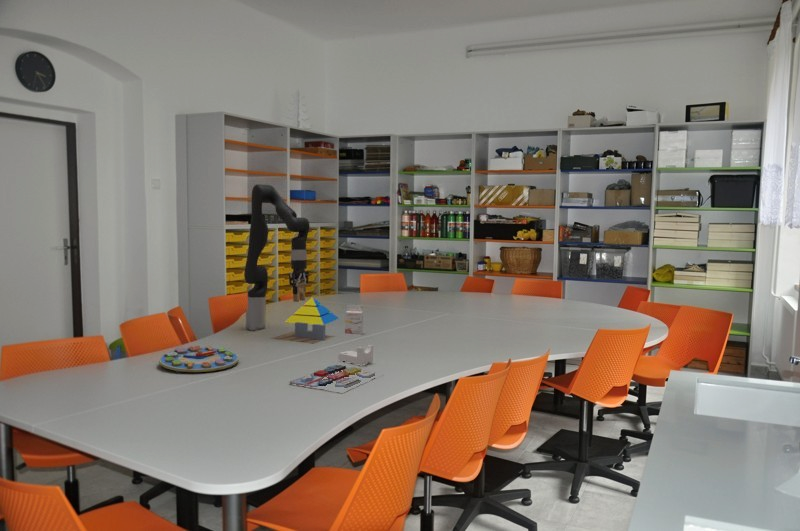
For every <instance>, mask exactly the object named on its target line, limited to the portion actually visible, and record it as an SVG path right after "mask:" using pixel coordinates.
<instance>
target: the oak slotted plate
mask: <svg viewBox="0 0 800 531" xmlns="http://www.w3.org/2000/svg"><path fill="white" fill-rule="evenodd" d="M295 284H296V282H295ZM292 294H293V293H292ZM305 300H306V291H305V283H304V282H303V281H302V282H300V281H299V282H298V285H297V294H293V296H292V302H293V303H294V302H295V303H298V302H300V301H301V302H302V301H303V302H305Z"/></svg>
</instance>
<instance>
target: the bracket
mask: <svg viewBox="0 0 800 531" xmlns="http://www.w3.org/2000/svg"><path fill="white" fill-rule="evenodd" d="M337 355H338V357H337V358H338V359H337V360H340V361H339V362H341V361H345V362H350V363H355V364H360V365H363V364H367V365H368V364H369V363H373V362H374V345H372V344H367V345H366V348H365V350H364V347H361V346H357V347H356V351H354V350H346V351H342V352H338V354H337ZM345 362H344V363H345ZM350 363H349V364H350ZM355 364H354V365H355Z"/></svg>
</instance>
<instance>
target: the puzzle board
mask: <svg viewBox="0 0 800 531" xmlns="http://www.w3.org/2000/svg"><path fill="white" fill-rule="evenodd" d="M341 370H343V372H342V371H341ZM361 370H362V368H361V367H355V366H352V367H347V366H346V365H342V364H341V365H338V364H334V365H330V366H327V367H326V368H324V369H321V370H317V371H314V372H312V373H309V374H304V376H302V377H298V378H296V379H293V380H290V381H289V382H288V384H289V383H290V384H296V385H304V386H310V387H318V386H326V385H327V384H331V383H333V381H336V384H335V387H344V388H348V387H351V386H353V385H355V384H358V383H360V382H361V380H359V379H357V378H356V377H352V378H344V377H349V375H355V373H356V375H357V376H359V377H362V378H371V377H373V376H375V373H376V372H374V373H370V372H371V371H369V372H361ZM338 371H339V373H337V374H335V372H338ZM332 373H333V374H334V375H331V374H332ZM327 376H328V377H327ZM324 377H327V378H328V379H323V378H324ZM342 378H343V379H342ZM322 379H323V380H322ZM290 384H289V385H290Z"/></svg>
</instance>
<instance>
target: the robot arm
mask: <svg viewBox="0 0 800 531" xmlns="http://www.w3.org/2000/svg"><path fill="white" fill-rule="evenodd" d="M263 204H271V205H272V206H274V210H275V213H276V215H277V216H278V217H279V218H280V219H281V220H282V221H283V222H284V223H285V225H286V228H287V229H288V230H289V231H290V232H292V233H297V236H295V237H292V238H291V241H290V242H291V247H290V249H291V250H290V251H291V252H290V268H291V269H292V272H288V281H289V286H291V287H292V294H297V285H298V282H304V283H305V292H306V289H307V288H306V287H307V284H309V278H310V276H309V275H310V271H309V270H308V271H307V267H308V259H307V257H308V254H307V240H308V235H309V232H310V227H311V225H310V221H309V219H308V218H306V217H297V216H298V215H297V212H296V211H295V210H293V208H291V207H290V206H289V205H288V204H287V203H286V202H285V200H284V199H283V197H282V196H281V195H280V193H279V192H278V191H277V190H276V188H275V187H274V186H272V185H271V184H270V185H269V184H259V183H258V184H254V185H253V188H252V190H251V216H250V217H251V218H250V227H249V236H248V237H249V240H248V249H247V254H246V261H245V266H244V272H243V273H244V274H243V275H244V276H243V277H244V278H243V279H244V280H245V283H247V284H248V285H254V286H253V287H252V288H251V289H249V290H248V291H247V310H246V311H245V329H246V330H248V329H249V330H248V331H253V330H258V331H262V330H266V329H267V328H266V326H267V325H266V324H267V323H266V322H267V320H266V319H267V316H266V315H267V314H266V313H267V312H266V310H267V303H266V302H267V301H266V300H267V299H266V298H267V297H266V296H267V291H268V281H269V280H268V279H269V278H268V277H269V274H268V273H269V272H268V269H267V268H266V266H264V265H258V261H259V257H260V255H261V254H262V252H263V251H264V249H265V247H266V245H267V243H268V239H269V227H268V224H267V222H266V220H265V217H264V215H263ZM295 283H296V284H295Z"/></svg>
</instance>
